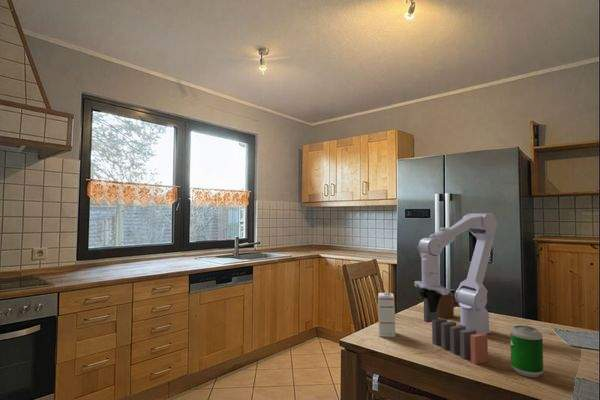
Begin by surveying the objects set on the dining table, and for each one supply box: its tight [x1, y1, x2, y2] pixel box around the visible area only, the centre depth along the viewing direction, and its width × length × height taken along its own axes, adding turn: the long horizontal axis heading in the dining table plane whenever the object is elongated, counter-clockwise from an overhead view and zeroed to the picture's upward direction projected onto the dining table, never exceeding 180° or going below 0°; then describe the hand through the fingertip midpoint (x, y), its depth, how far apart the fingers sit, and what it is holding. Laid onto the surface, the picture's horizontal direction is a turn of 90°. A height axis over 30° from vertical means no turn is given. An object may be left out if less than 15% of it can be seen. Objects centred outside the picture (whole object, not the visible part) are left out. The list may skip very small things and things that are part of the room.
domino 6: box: [470, 333, 489, 365], centre depth 106 cm, size 5×2×8 cm, turn 111°
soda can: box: [509, 324, 544, 378], centre depth 99 cm, size 8×8×12 cm
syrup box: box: [377, 292, 396, 338], centre depth 129 cm, size 6×6×14 cm
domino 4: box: [449, 324, 466, 355], centre depth 113 cm, size 5×2×8 cm, turn 112°
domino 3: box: [440, 321, 457, 350], centre depth 117 cm, size 5×2×8 cm, turn 112°
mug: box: [438, 292, 460, 319], centre depth 150 cm, size 12×8×9 cm, turn 92°
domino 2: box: [431, 318, 448, 346], centre depth 121 cm, size 5×2×8 cm, turn 112°
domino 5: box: [459, 329, 476, 360], centre depth 109 cm, size 5×2×8 cm, turn 112°
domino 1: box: [423, 298, 440, 323], centre depth 124 cm, size 5×2×8 cm, turn 111°
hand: (431, 311), depth 124 cm, fingers closed on domino 1, 1 cm apart
